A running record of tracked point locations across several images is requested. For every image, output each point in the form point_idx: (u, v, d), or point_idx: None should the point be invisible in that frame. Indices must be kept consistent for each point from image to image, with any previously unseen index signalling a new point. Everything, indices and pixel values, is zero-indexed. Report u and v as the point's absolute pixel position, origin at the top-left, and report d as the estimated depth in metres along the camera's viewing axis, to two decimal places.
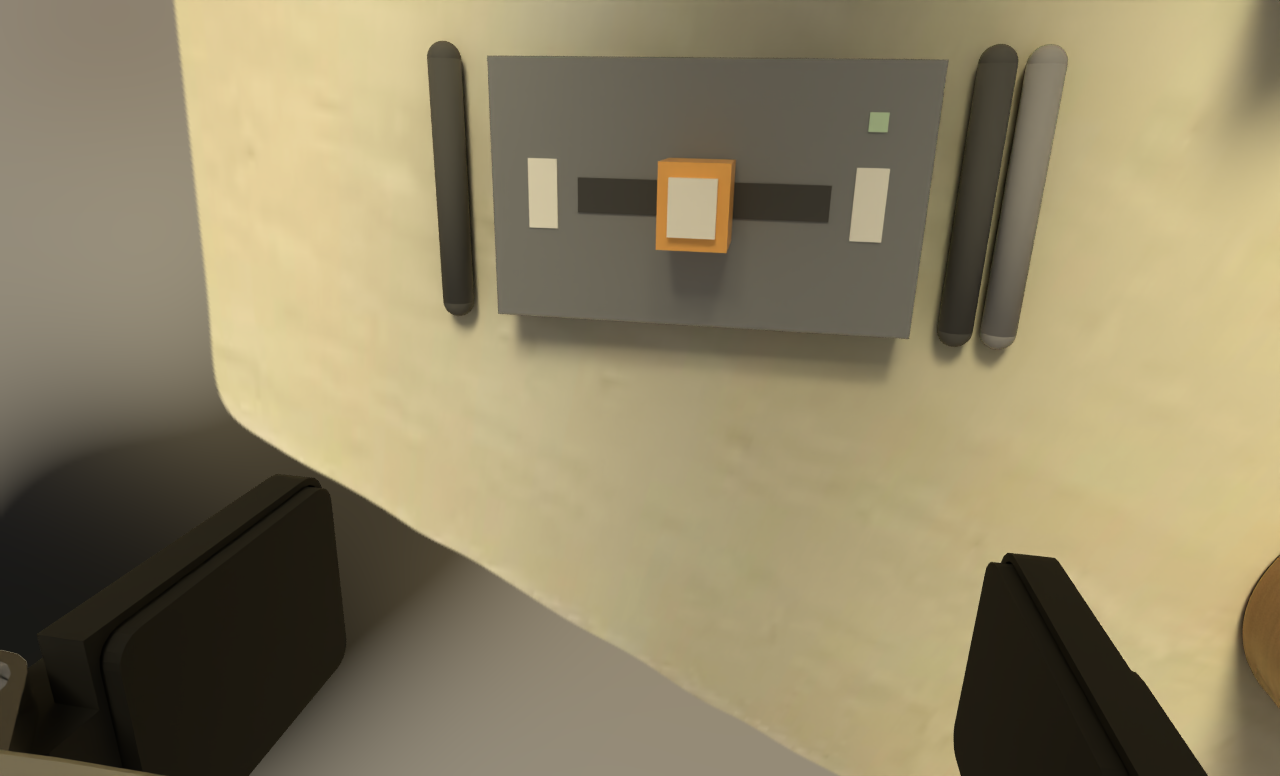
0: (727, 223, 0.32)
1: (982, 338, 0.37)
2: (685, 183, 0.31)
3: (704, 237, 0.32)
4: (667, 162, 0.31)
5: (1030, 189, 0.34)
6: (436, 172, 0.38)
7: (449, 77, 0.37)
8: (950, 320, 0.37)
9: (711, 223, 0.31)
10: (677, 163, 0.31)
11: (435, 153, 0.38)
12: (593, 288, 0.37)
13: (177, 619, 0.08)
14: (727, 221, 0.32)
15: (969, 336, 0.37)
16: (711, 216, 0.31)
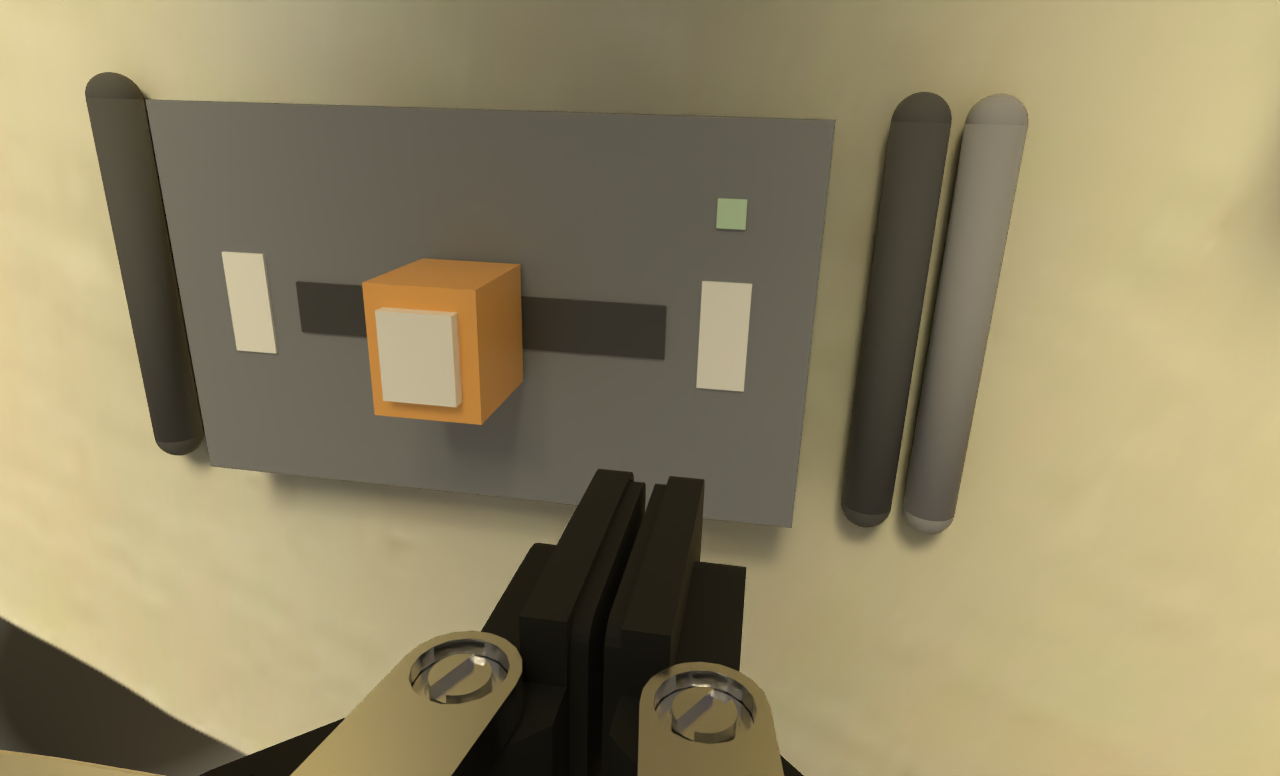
0: (479, 379, 0.20)
1: (905, 517, 0.25)
2: (402, 320, 0.19)
3: (440, 403, 0.20)
4: (378, 283, 0.19)
5: (972, 314, 0.22)
6: (119, 261, 0.26)
7: (118, 126, 0.25)
8: (857, 493, 0.25)
9: (449, 382, 0.19)
10: (391, 286, 0.19)
11: (114, 235, 0.26)
12: (336, 437, 0.25)
13: (603, 602, 0.09)
14: (478, 377, 0.20)
15: (885, 515, 0.25)
16: (447, 372, 0.19)
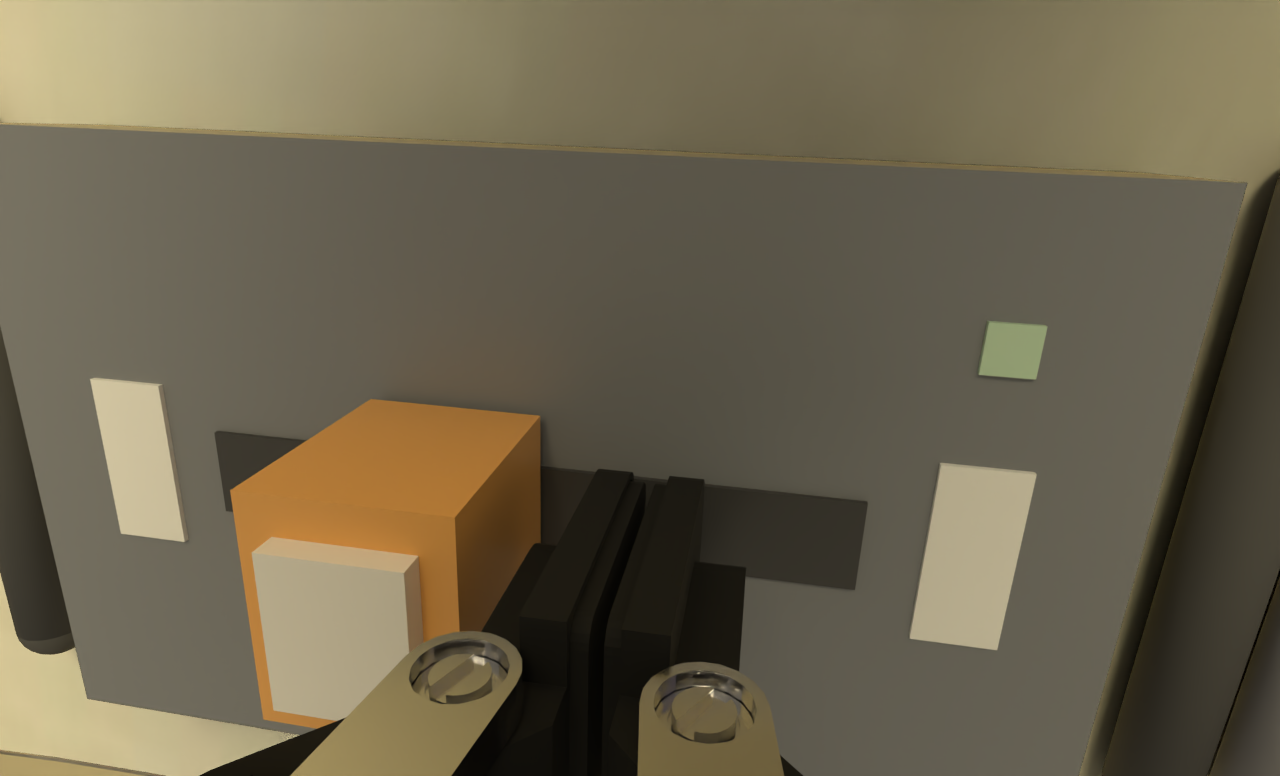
0: None
1: None
2: (305, 574, 0.09)
3: None
4: (263, 492, 0.10)
5: None
6: None
7: None
8: None
9: None
10: (288, 501, 0.10)
11: None
12: None
13: (603, 603, 0.09)
14: None
15: None
16: None
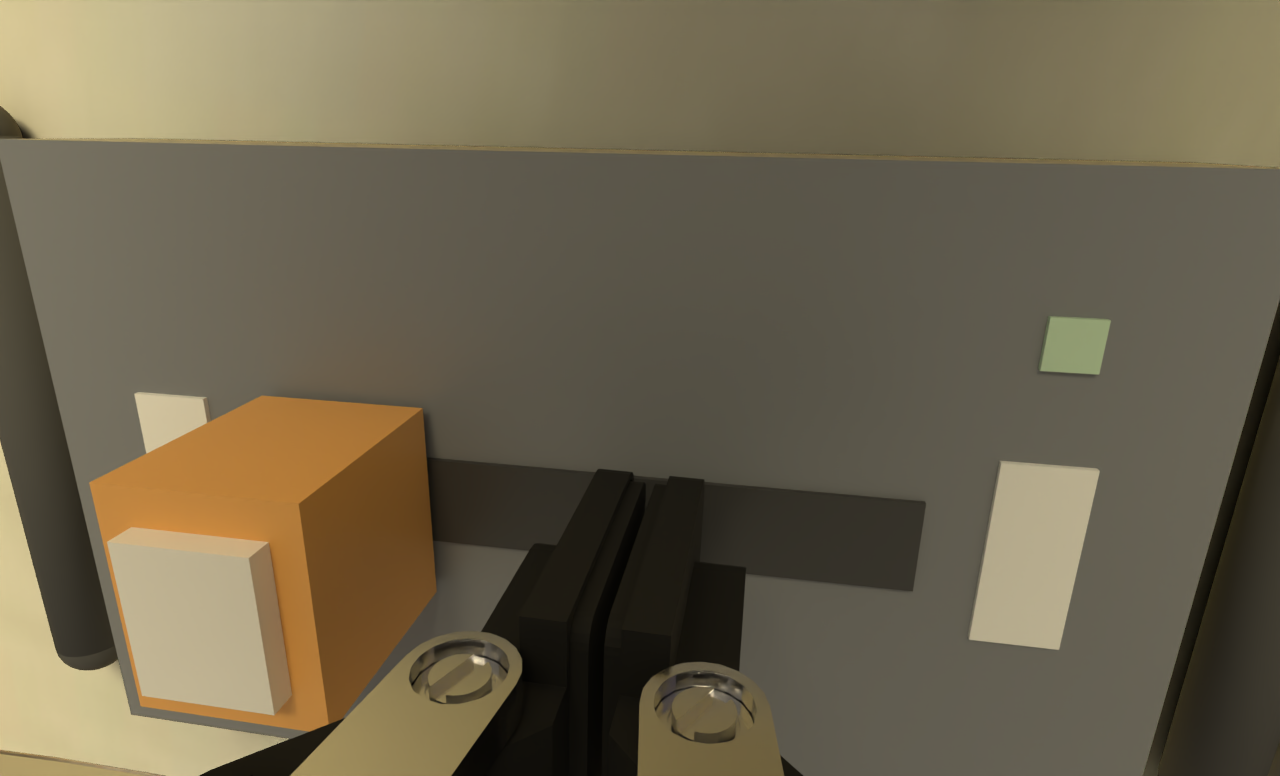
0: (322, 657, 0.10)
1: None
2: (158, 561, 0.10)
3: (245, 707, 0.10)
4: (121, 483, 0.10)
5: None
6: None
7: None
8: None
9: (258, 672, 0.10)
10: (144, 492, 0.10)
11: None
12: None
13: (603, 602, 0.09)
14: (319, 654, 0.10)
15: None
16: (252, 656, 0.10)
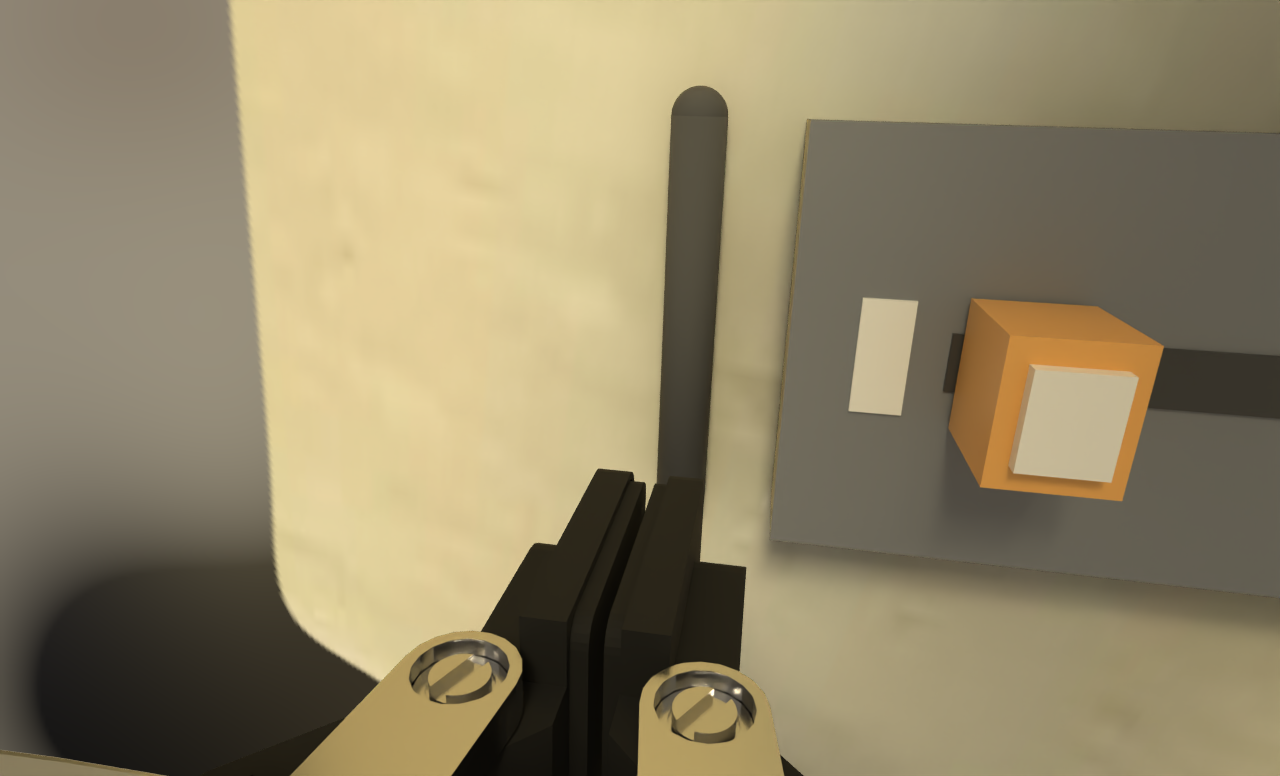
0: (1131, 449, 0.17)
1: None
2: (1069, 381, 0.16)
3: (1091, 477, 0.17)
4: (1027, 336, 0.16)
5: None
6: (670, 303, 0.23)
7: (713, 148, 0.21)
8: None
9: (1110, 454, 0.16)
10: (1050, 340, 0.16)
11: (672, 273, 0.23)
12: (948, 511, 0.22)
13: (604, 602, 0.09)
14: (1134, 446, 0.17)
15: None
16: (1112, 442, 0.16)
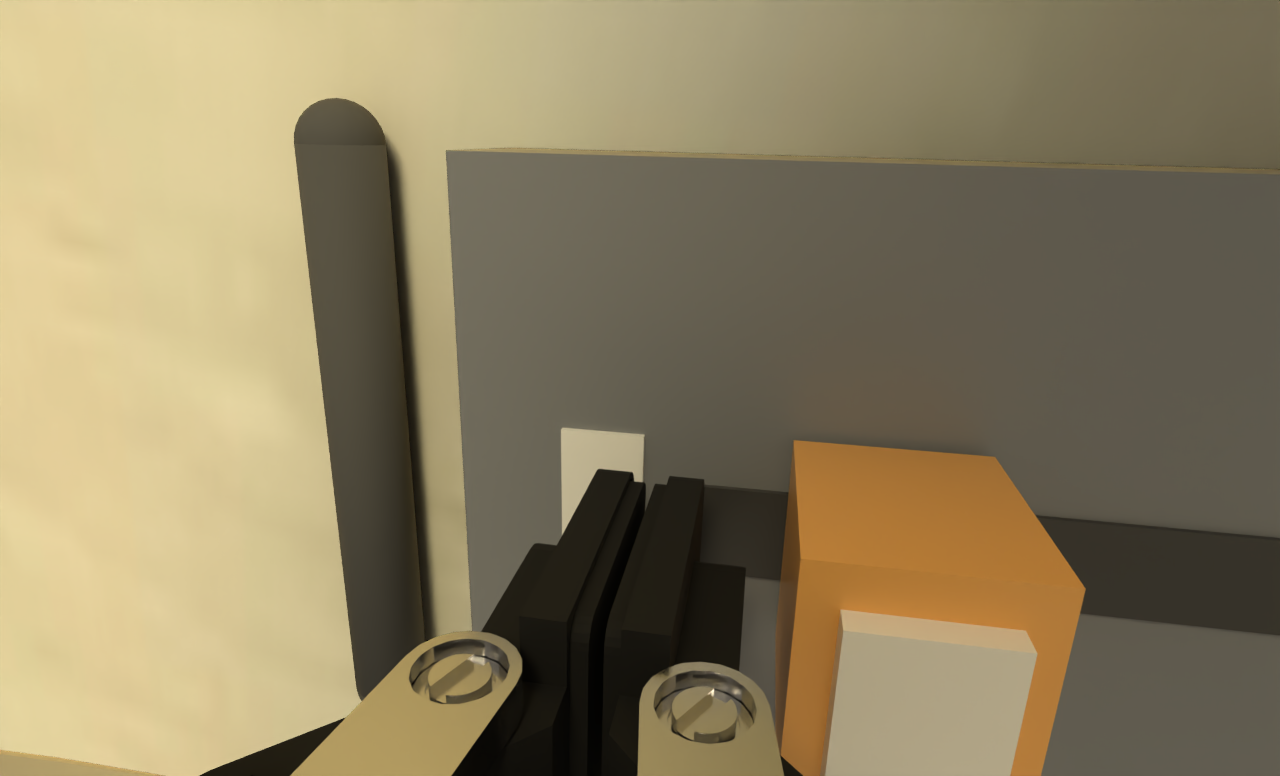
0: (1037, 758, 0.09)
1: None
2: (908, 655, 0.08)
3: None
4: (834, 560, 0.09)
5: None
6: (327, 419, 0.15)
7: (352, 194, 0.14)
8: None
9: None
10: (873, 571, 0.09)
11: (323, 376, 0.15)
12: None
13: (604, 602, 0.09)
14: (1040, 756, 0.09)
15: None
16: (994, 762, 0.09)
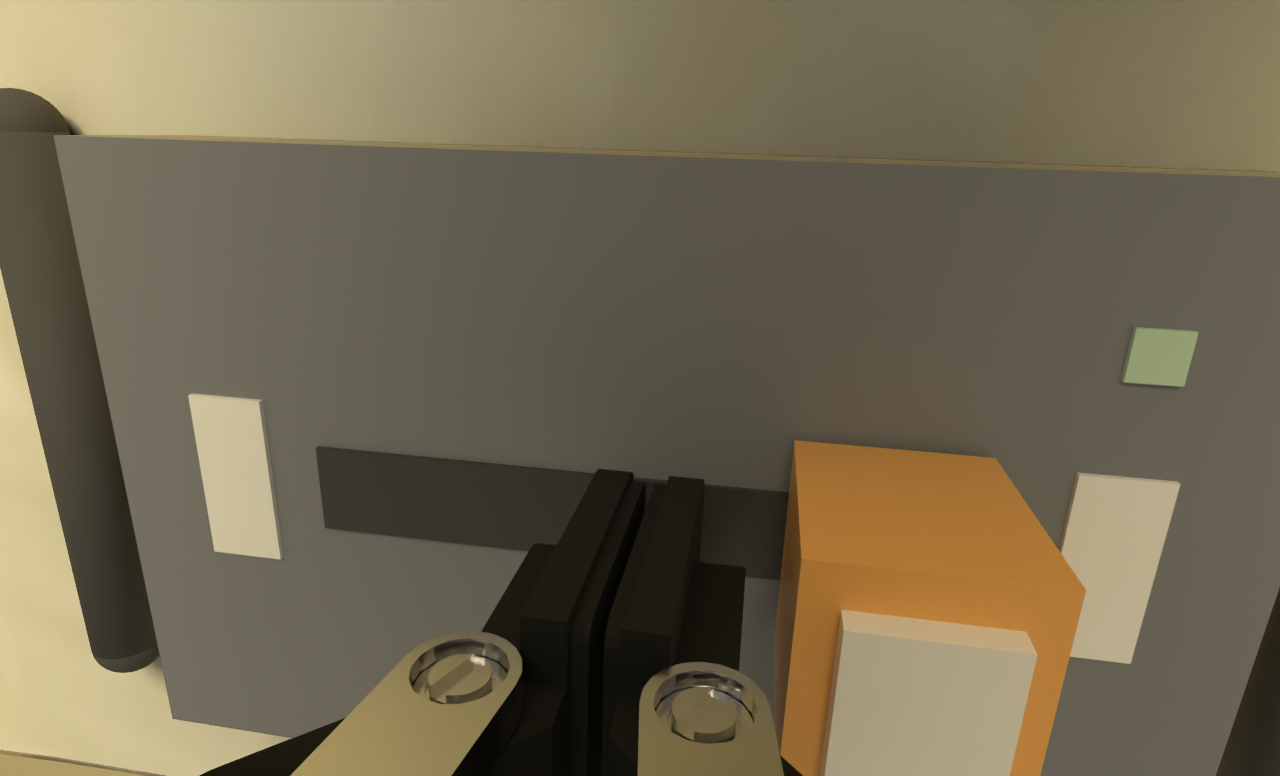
0: (1037, 759, 0.09)
1: None
2: (909, 655, 0.08)
3: None
4: (835, 560, 0.09)
5: None
6: None
7: (22, 177, 0.15)
8: None
9: None
10: (875, 571, 0.09)
11: (20, 349, 0.16)
12: None
13: (604, 604, 0.09)
14: (1040, 757, 0.09)
15: None
16: (994, 762, 0.09)
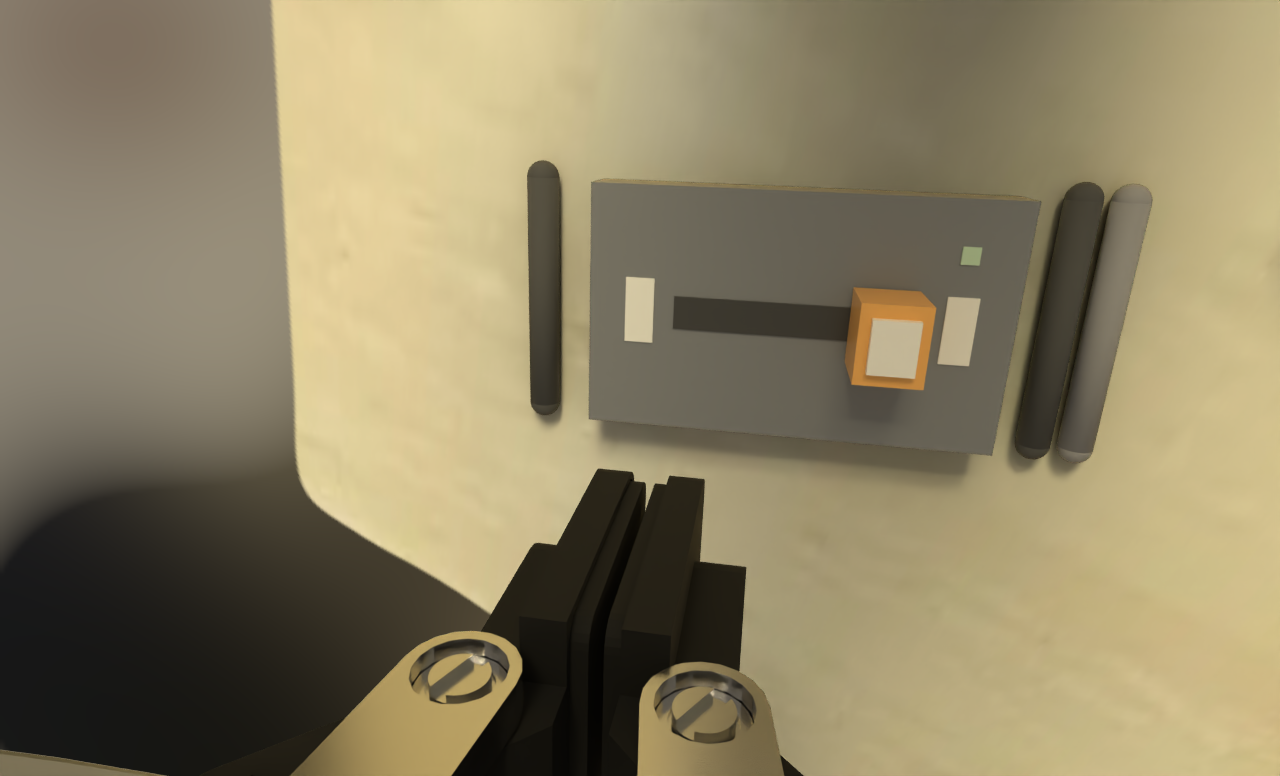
0: (926, 362, 0.32)
1: (1059, 452, 0.38)
2: (890, 326, 0.32)
3: (904, 376, 0.32)
4: (870, 304, 0.32)
5: (1113, 318, 0.35)
6: (531, 282, 0.40)
7: (549, 195, 0.38)
8: (1030, 435, 0.38)
9: (913, 363, 0.32)
10: (881, 305, 0.32)
11: (531, 265, 0.39)
12: (683, 398, 0.39)
13: (604, 604, 0.09)
14: (927, 360, 0.32)
15: (1047, 450, 0.38)
16: (913, 357, 0.32)
